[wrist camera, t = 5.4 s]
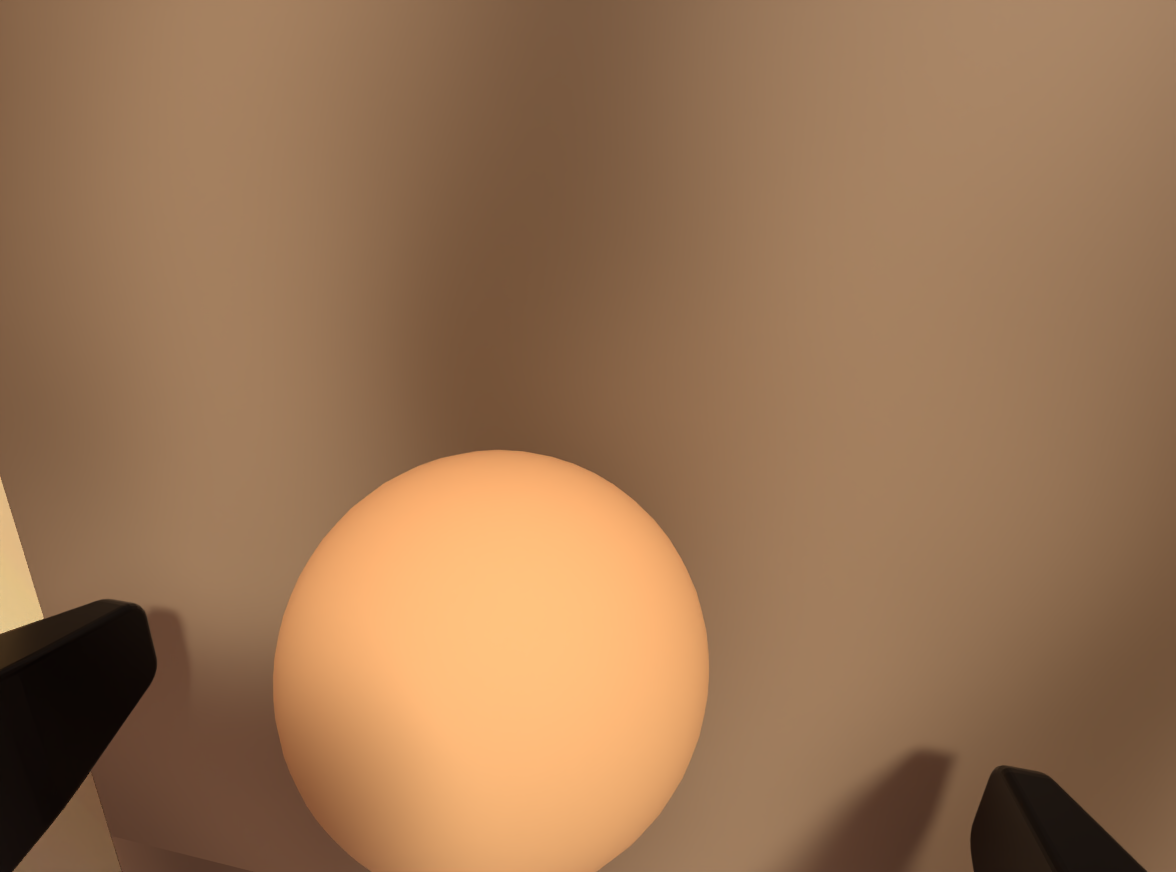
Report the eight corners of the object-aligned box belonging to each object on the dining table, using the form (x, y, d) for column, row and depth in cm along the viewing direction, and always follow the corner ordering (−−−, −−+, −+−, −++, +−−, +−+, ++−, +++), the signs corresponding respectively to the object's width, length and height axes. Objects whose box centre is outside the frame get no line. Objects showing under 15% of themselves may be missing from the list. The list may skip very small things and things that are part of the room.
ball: (739, 415, 7) (726, 668, 4) (699, 707, 8) (664, 1075, 5) (386, 374, 7) (107, 561, 4) (406, 652, 9) (207, 951, 6)
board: (1463, -82, 6) (1774, -174, 4) (894, 1229, 15) (913, 1384, 13) (14, -82, 8) (-189, -138, 7) (266, 1045, 17) (208, 1152, 15)
